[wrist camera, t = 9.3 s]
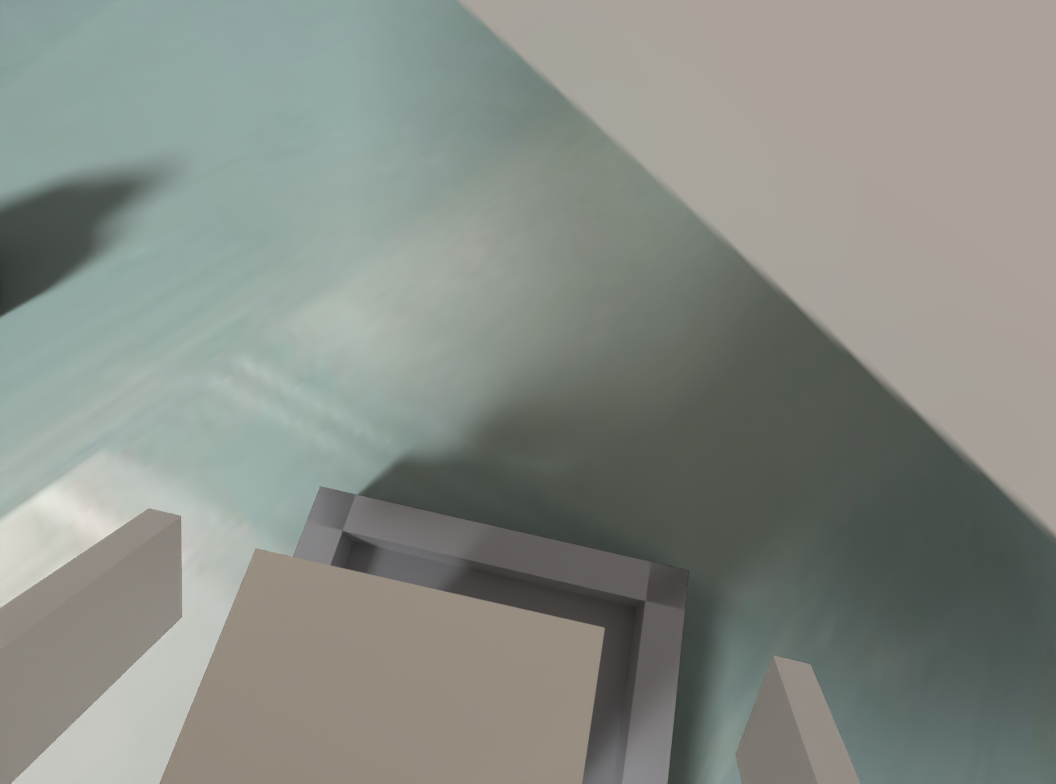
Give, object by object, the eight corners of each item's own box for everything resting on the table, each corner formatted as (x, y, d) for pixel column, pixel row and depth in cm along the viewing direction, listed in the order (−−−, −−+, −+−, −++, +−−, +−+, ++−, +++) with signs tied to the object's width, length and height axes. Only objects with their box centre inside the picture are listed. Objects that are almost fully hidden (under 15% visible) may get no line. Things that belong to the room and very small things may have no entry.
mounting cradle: (340, 509, 22) (320, 486, 20) (668, 584, 21) (689, 570, 19) (188, 923, 17) (135, 960, 15) (616, 1045, 16) (635, 1106, 14)
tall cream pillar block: (396, 626, 19) (260, 538, 9) (551, 662, 19) (606, 616, 8) (341, 818, 17) (64, 1015, 6) (515, 862, 17) (528, 1150, 6)
